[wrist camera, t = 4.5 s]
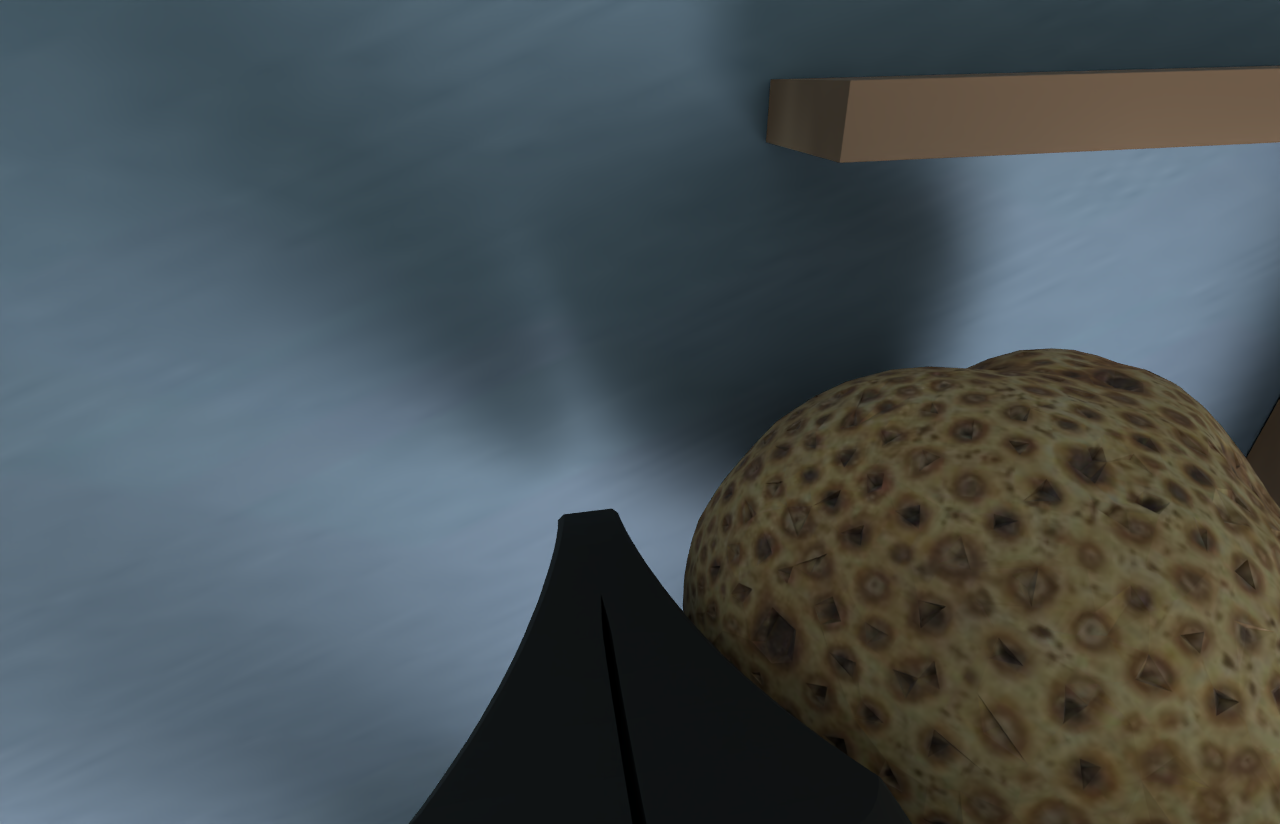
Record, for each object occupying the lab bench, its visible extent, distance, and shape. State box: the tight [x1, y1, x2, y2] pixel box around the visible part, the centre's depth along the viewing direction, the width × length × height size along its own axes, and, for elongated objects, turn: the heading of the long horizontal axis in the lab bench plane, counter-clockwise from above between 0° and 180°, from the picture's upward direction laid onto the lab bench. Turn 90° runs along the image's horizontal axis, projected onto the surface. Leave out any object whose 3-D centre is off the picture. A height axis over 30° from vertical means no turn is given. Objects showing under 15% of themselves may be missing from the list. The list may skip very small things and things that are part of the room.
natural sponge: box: [683, 349, 1280, 824], centre depth 10 cm, size 9×9×10 cm
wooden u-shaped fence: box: [766, 66, 1280, 508], centre depth 13 cm, size 16×16×5 cm
